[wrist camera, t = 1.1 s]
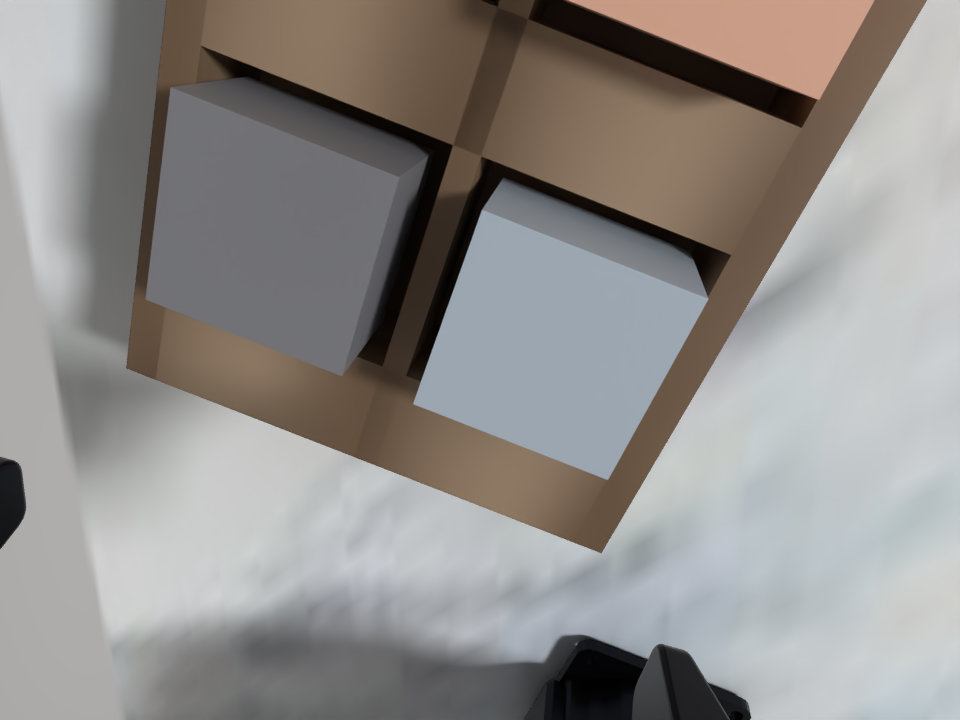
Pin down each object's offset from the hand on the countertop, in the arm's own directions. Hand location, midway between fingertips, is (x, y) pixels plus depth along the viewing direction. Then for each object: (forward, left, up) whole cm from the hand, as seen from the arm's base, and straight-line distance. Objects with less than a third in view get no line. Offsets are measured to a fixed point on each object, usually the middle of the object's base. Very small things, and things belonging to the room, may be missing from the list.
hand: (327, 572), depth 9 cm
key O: (+4, -2, -9) cm, 9 cm away
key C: (-2, -2, -9) cm, 9 cm away
